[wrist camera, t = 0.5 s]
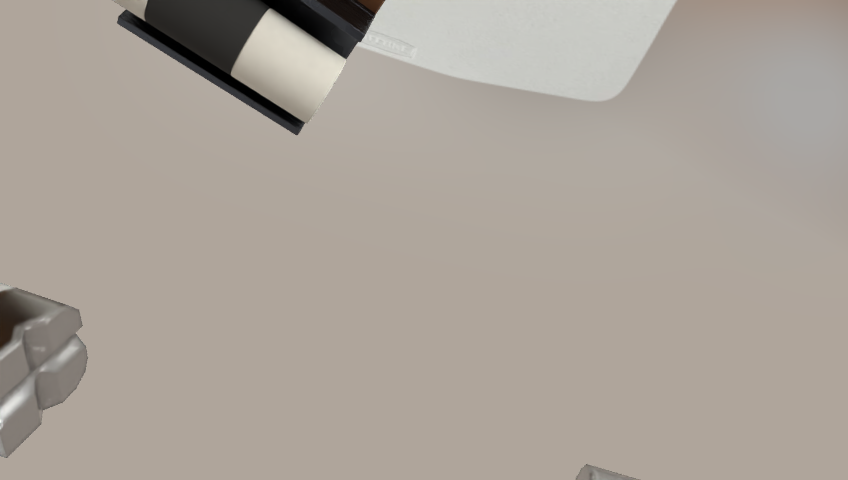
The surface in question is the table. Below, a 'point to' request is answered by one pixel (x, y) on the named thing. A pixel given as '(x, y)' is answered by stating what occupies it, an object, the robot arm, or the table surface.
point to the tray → (302, 5)
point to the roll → (250, 47)
